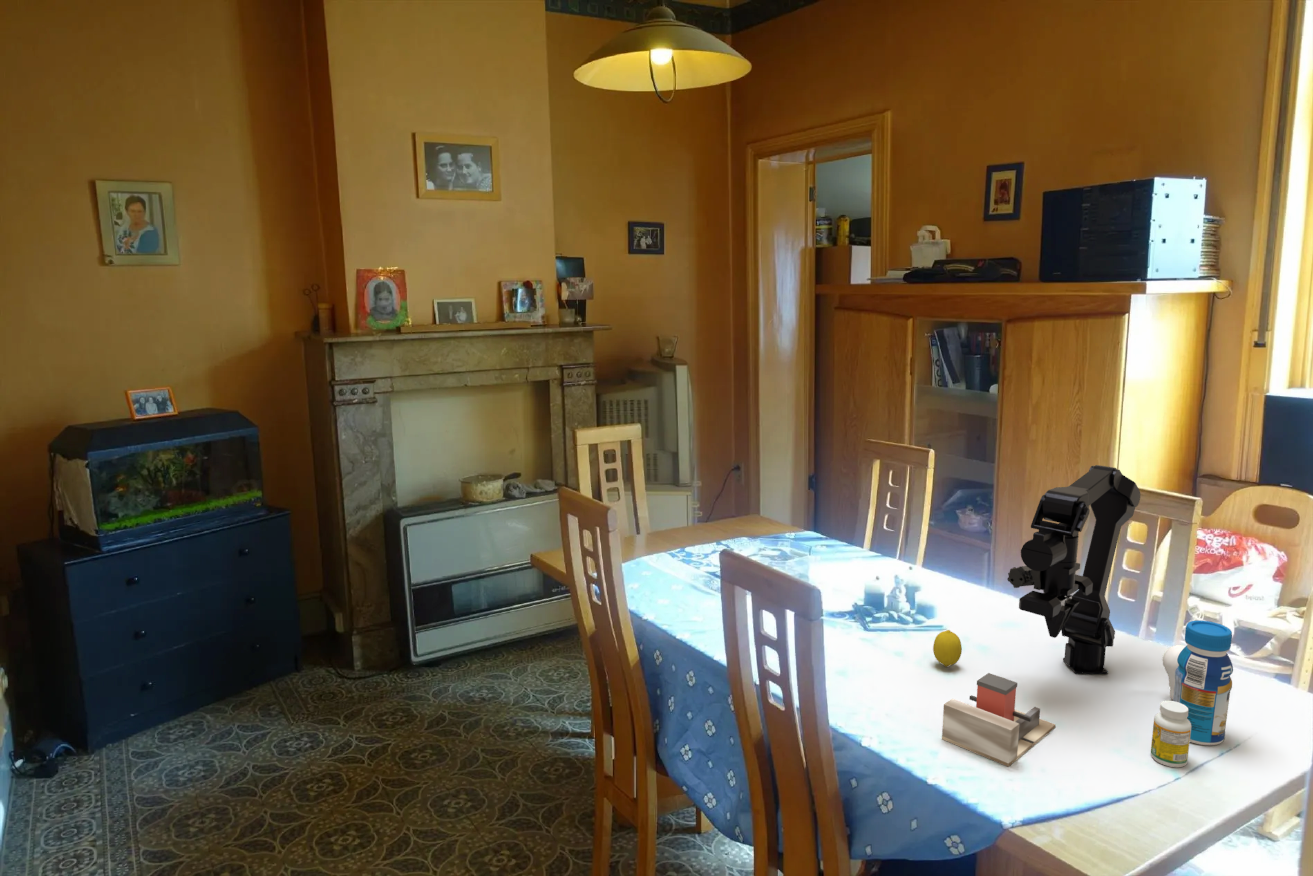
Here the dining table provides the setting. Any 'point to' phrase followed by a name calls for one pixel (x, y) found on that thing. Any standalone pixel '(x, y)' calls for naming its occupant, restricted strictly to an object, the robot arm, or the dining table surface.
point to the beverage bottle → (1205, 680)
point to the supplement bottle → (1171, 734)
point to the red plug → (997, 697)
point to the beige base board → (992, 731)
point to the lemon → (947, 648)
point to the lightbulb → (1172, 664)
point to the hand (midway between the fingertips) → (1053, 636)
